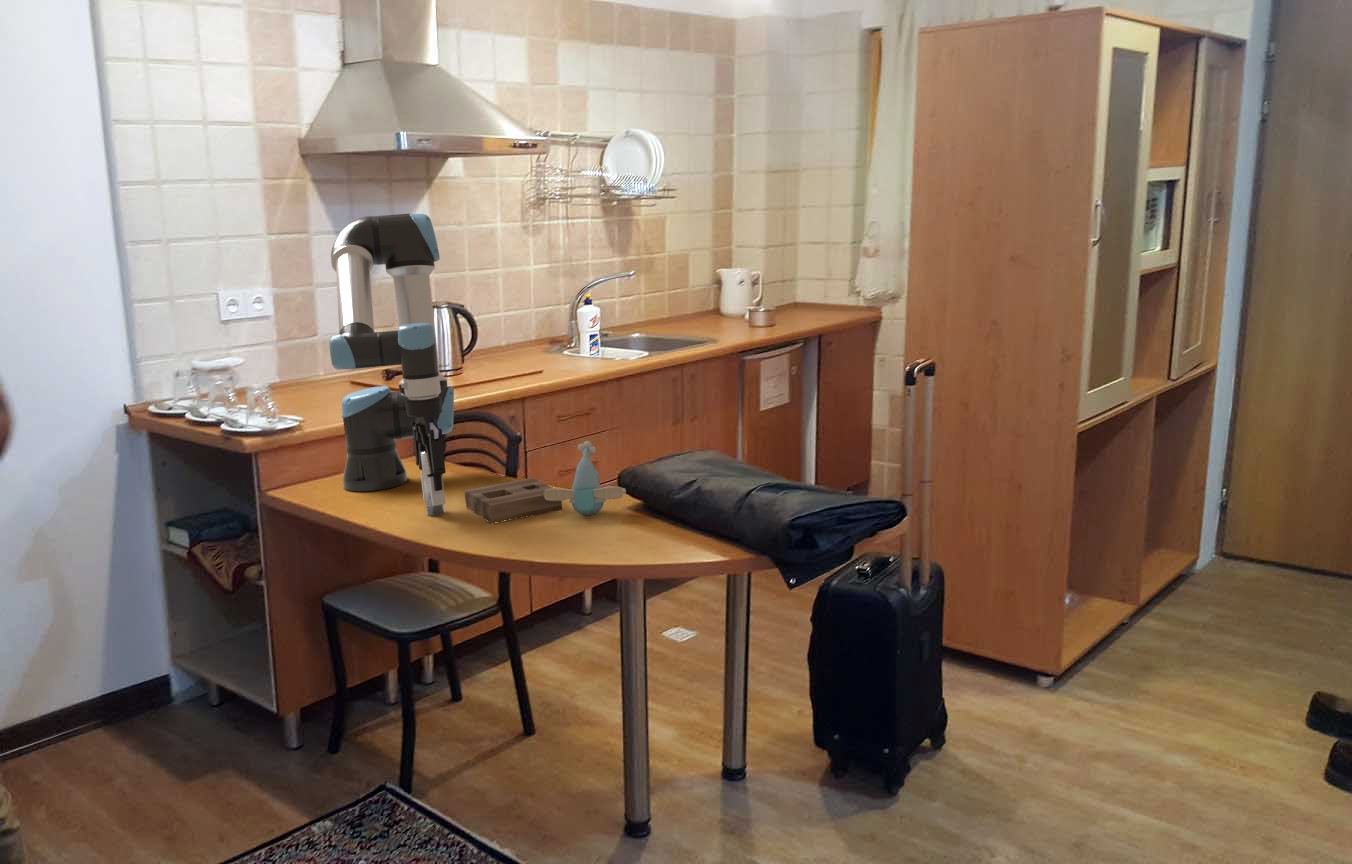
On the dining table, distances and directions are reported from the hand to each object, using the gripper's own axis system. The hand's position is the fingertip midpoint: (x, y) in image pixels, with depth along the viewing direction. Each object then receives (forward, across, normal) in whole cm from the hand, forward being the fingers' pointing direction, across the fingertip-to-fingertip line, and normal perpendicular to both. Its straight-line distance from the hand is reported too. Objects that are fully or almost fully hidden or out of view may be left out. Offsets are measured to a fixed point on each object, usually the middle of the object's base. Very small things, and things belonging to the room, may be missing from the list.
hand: (434, 501), depth 241 cm
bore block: (+3, +8, +15) cm, 17 cm away
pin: (+3, 0, 0) cm, 3 cm away
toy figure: (+3, +23, +26) cm, 35 cm away
